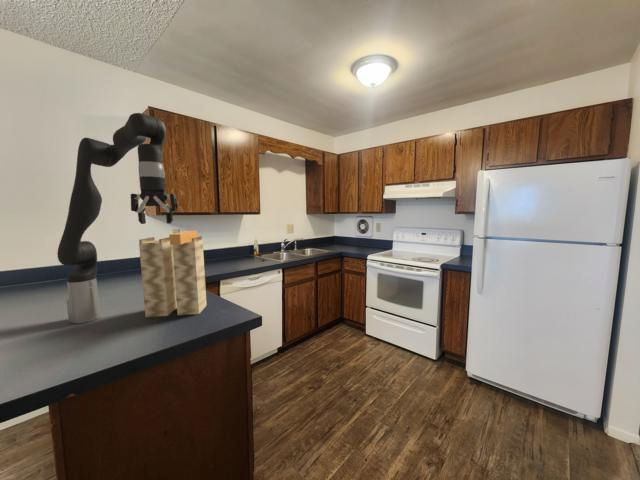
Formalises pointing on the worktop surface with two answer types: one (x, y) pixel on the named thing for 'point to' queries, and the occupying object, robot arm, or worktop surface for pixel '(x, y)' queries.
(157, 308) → the rosette post
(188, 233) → the bracket bar
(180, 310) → the post
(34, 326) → the worktop surface
